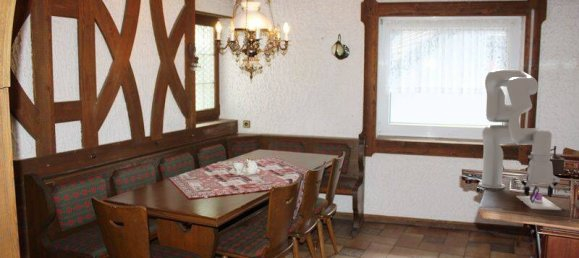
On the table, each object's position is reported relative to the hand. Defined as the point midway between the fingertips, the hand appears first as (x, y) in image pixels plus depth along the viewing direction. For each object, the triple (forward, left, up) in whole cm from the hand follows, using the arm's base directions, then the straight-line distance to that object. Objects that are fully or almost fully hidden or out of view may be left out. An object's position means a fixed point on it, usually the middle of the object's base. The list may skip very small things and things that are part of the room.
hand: (538, 195), depth 238 cm
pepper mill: (-75, +30, -4) cm, 81 cm away
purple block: (-2, 0, -3) cm, 3 cm away
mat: (0, 0, -3) cm, 3 cm away
